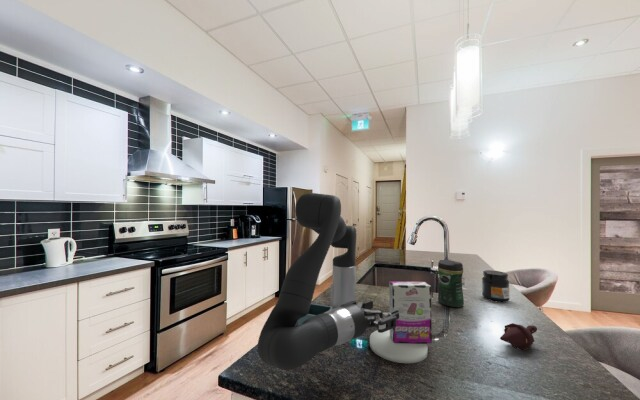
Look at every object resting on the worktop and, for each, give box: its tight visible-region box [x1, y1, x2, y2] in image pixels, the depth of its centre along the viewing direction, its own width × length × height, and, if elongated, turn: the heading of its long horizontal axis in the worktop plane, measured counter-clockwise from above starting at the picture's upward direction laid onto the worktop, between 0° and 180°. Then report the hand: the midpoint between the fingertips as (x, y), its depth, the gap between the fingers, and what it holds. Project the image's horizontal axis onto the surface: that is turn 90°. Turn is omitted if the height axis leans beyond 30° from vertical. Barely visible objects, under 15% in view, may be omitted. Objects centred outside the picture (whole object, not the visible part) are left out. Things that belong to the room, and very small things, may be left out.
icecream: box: [499, 322, 538, 352], centre depth 77 cm, size 7×7×15 cm
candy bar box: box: [388, 281, 433, 345], centre depth 77 cm, size 11×5×16 cm, turn 89°
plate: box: [369, 329, 429, 364], centre depth 76 cm, size 16×16×2 cm
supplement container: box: [481, 269, 511, 303], centre depth 120 cm, size 10×10×12 cm
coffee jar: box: [437, 259, 465, 308], centre depth 112 cm, size 10×8×19 cm
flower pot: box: [297, 303, 332, 326], centre depth 80 cm, size 9×9×9 cm
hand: (384, 308), depth 72 cm, fingers open, 8 cm apart
